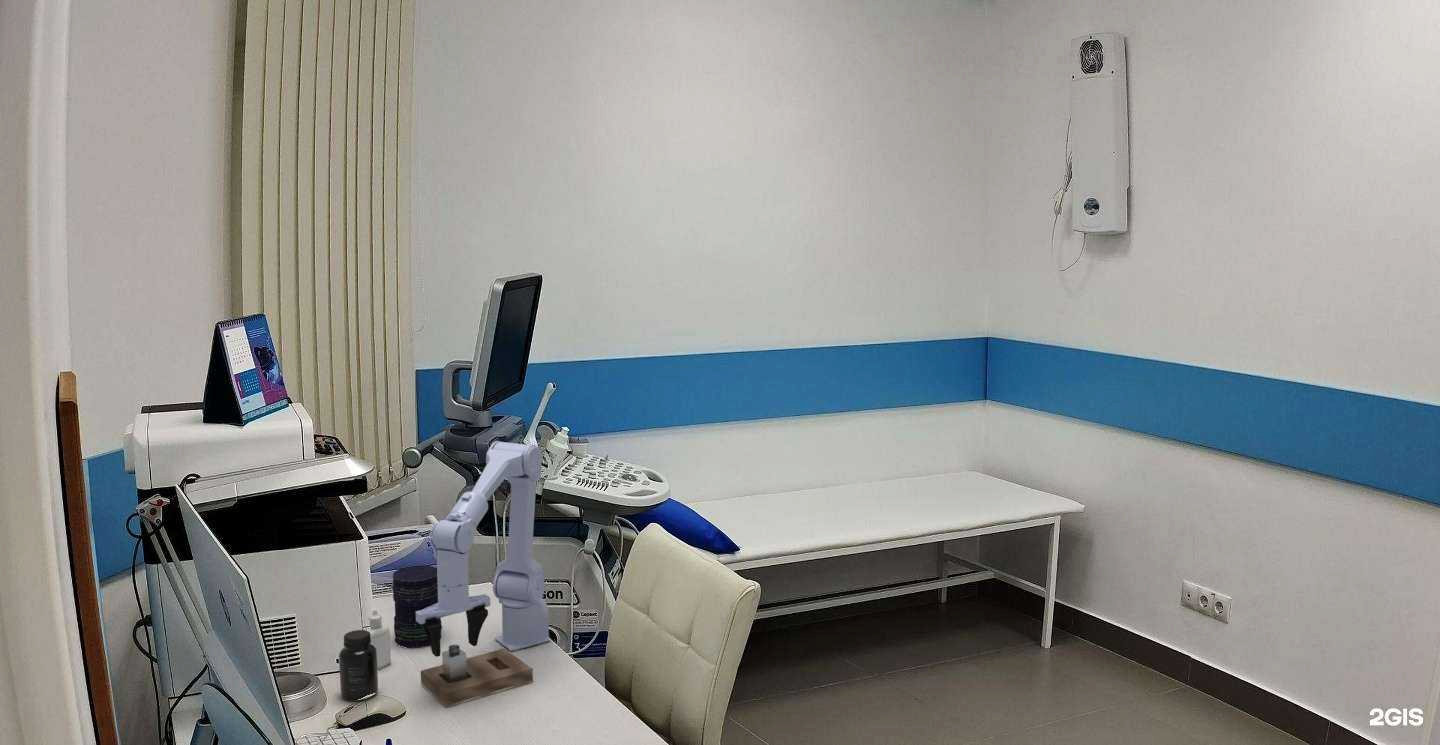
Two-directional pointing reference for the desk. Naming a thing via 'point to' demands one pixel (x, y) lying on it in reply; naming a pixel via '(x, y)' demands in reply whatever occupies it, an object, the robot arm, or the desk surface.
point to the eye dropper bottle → (380, 640)
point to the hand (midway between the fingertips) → (454, 649)
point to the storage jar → (413, 603)
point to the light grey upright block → (454, 664)
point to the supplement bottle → (358, 666)
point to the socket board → (478, 678)
